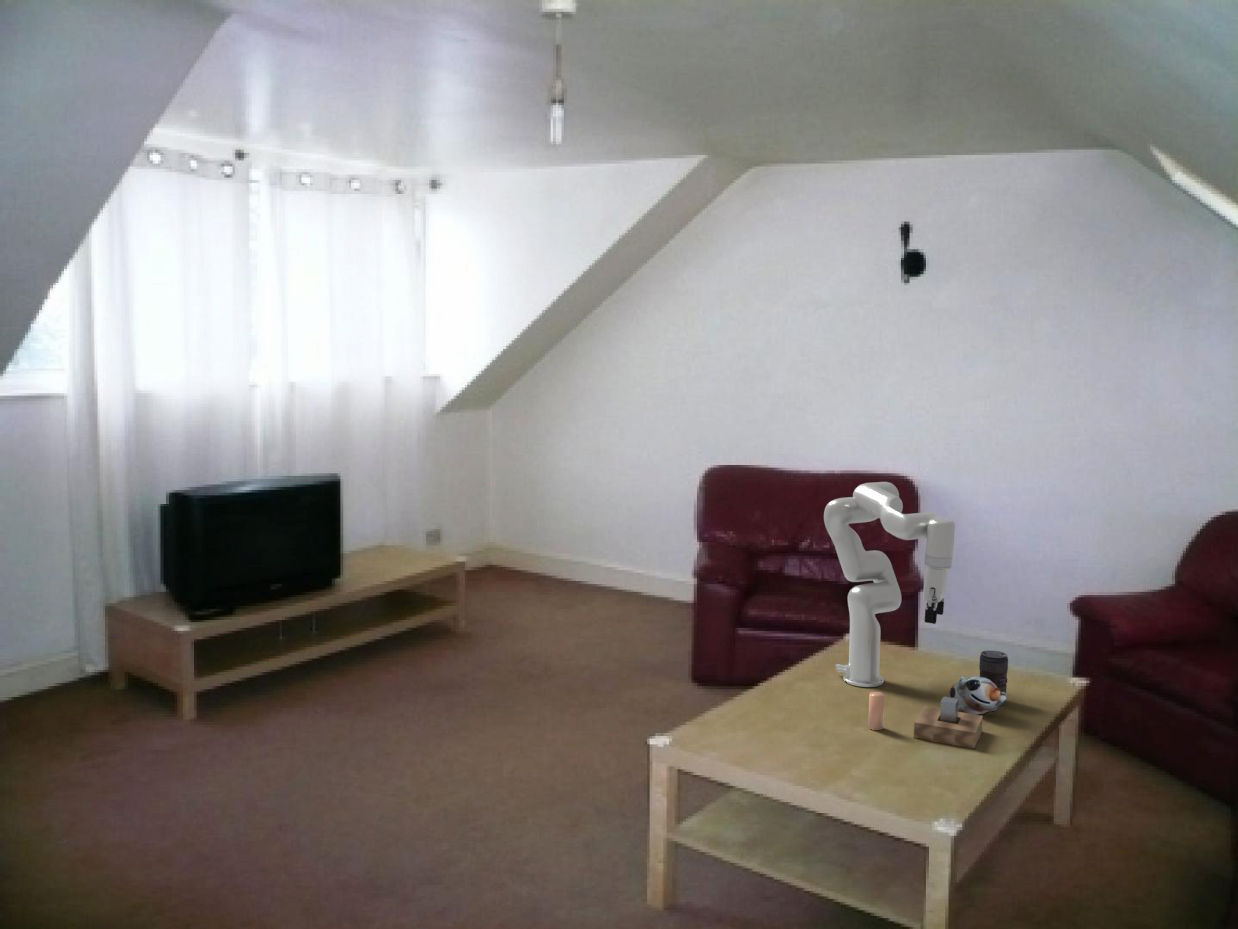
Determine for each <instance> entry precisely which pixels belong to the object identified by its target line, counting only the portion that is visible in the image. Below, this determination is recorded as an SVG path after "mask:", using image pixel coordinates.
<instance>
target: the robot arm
mask: <svg viewBox="0 0 1238 929" xmlns="http://www.w3.org/2000/svg"><path fill="white" fill-rule="evenodd" d="M903 508H904V506H903V501H902V499H901V498H900V493H899V490H898V488H897V487H896V485H894V484H893V483H892V482H888V481H878V482H877V481H876V482H865V483H862V484H859V485H857V487H855V488H854V491H853V493H852V496H850V497H849V496H848V497H839V498H834V499H833V500H831V501H829V502H828V503H827V504H826V506H825V508H824V512H823V521H824V522H823V523H824V526H825V529H826V531H827V533H828V535H829V537H830V538H831V542H832V543H833V544H834V548H835V551H836V554H837V558H838V561H839V564H840V566H841V569H842V572H843V575H844V577H845V579H846V580H847V581H848V582H851V583H860V582H869V581H873V582H871V583H864V584H862V583H861V584H859V585H855V586H853V587H852V588H851V589H850V590H849V592H848V594H847V606H848V612H849V643H848V646H849V648H848V664H845V665H844V664H841V663H840V664H838V663H836V664H835V671H836V672H838V673H843V675H842V676H843V677H842V678H843V679H842V680H843V681H844V682H845V681H846V682H847V684H849V685H851V686H854V687H861V688H875V687H880V686H882V685H883V684H884V683H885V682H884V680H885V679H884V677H883V676H881V675H880V657H881V656H880V655H881V654H880V653H881V625H880V623H879V621H878V619H877V617H876V615H877V614H882V613H888V612H893V611H896V610H898V609H899V608H900V606H901V604H902V592H901V589H900V586H899V583H898V581H897V577H896V574H895V571H894V569H893V565H892V562H891V561H890V559H889V557H888V555H887V554H886V553H884V552H883V551H880V550H865V548H864V545H863V543H862V539H861V538H860V536H859V535H858V533H857V532H856V531H855V530H854V529H853V528H852V527H850V525H849V524H859V523H861V524H862V523H868V522H869V523H870V522H873V521H875V520H878V519H880V523H881V525H882V527H883V529H884V530H885V531H886V532H887V533H889V534H891V535H892V536H894V537H896V538H898V539H900V540H903V541H910V540H921V539H925V540H926V542H925V555H924V566H925V567H926V572H925V577H924V584H923V594H922V601H926V605H925V609H924V619H923V620H924V623H928V624H934V625H936V624H937V618H938V615H941V616H943V615H944V608H945V597H946V594H947V586H948V573H949V572H948V571H949V569H950V570H951V569H952V567H953V555H954V544H955V533H956V532H955V530H956V525H955V524H956V523H955V522H954V521H953V520H951V519H949V518H944V517H942V516H940V515H938V514H936V513H935V512H929V511H927V512H916V513H902V512H903ZM846 682H845V683H846Z"/></svg>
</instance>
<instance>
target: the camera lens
mask: <svg viewBox="0 0 1238 929" xmlns="http://www.w3.org/2000/svg"><path fill="white" fill-rule="evenodd" d="M1008 670H1009V657H1008V654H1007V653H1006V652H1003V651H1000V650H983V651H981V652H980V655H979V677H982V678H987V679H989V680H990V681H991V682H993V683H994V684H995V685H996V686H997V688H998V689H1000V691H1001V692H1005V694H1007V684H1008ZM1003 704H1004V702H1003V703H1002V704H1001V705H1003Z"/></svg>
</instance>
